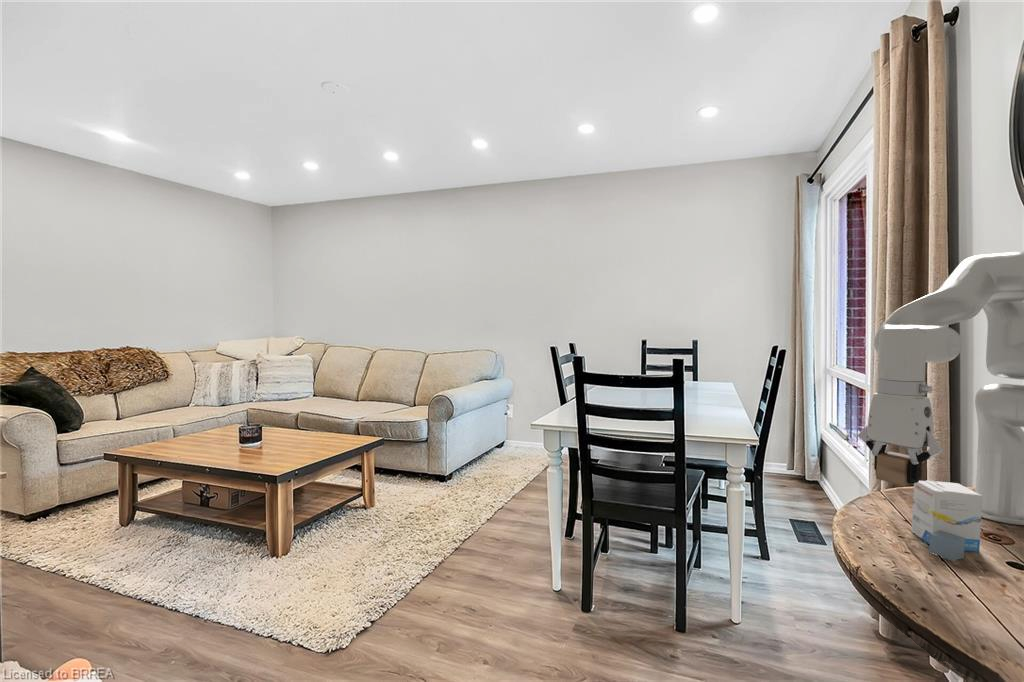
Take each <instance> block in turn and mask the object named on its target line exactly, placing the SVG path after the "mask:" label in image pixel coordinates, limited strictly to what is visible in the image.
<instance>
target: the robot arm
mask: <svg viewBox="0 0 1024 682" xmlns="http://www.w3.org/2000/svg"><path fill="white" fill-rule="evenodd" d="M982 309H983V311H984V313H985V316H986V320H987V321H986V322H987V334H986V355H985V363H986V364H985V365H986V369H987V372H989V373H990V375H993V376H995V377H998V378H1003V379H1011V380H1014V379H1015V380H1021V381H1023V380H1024V251H1023V250H1022V251H1021V250H1019V251H1010V252H1009V251H1008V252H998V253H984V254H978V255H977V254H976V255H973V256H970V257H967V258H965V259H963V260H962V261H961V262H959V264H958V265H957V266H956V267H955V268H954V270H953V271H952V272H951V273H950V274H949V275H948V277H947V278H946V279H945V280H944V282H943V283H942V284H941V285H940V286H939V287H938V289H937V290H936V291H935V292H932V293H929V294H927V295H924V296H922V297H920V298H918V299H916V300H913V301H911V302H909V303H906V304H905V305H903V306H901V307H899V308H897V309H896V310H894V311H893V312H892V313H890V315H889V316H888V317H887V318H886V320H885V321H884V322H883V323H882V324H881V325H880V327H879V328H878V330H877V331H876V334H875V338H874V342H873V345H874V349H875V352H876V353H877V354H878V363H877V385H876V386H877V388H876V391H877V392H874V393H873V395H872V398H871V401H870V406H869V410H868V418H867V425H866V426H865V427H864V428H863V429H862V430H861V431H860V432H859V433H858V435H857V436H858V438H860V440H861V441H862V442H863V443H865V445H866V446H867V448H869V450H870V451H871V454H872V455H873V456H874V462H873V463H874V467H873V468H874V469H873V470H874V471H876V468H877V454H881V453H886V452H887V449H888V446H889V445H891V446H897V447H900V448H901V447H902V448H906V449H907V453H908V454H907V455H909V457H910V463H908V466H907V483H909V485H914V483H917V482H919V481H921V478H922V464H923V463H925V462H926V461H927V460H929V459H931V458H932V457H935V456H937V455H939V454H941V453H943V451H944V449H943V447H942V446H941V444H940V443H939V442H938V441H937V440H936V438H935V436H934V435H935V432H934V431H935V430H934V417H933V416H934V415H933V411H932V409H933V408H932V403H931V401H930V397H927V396H925V395H926V394H927V393H928V394H931V393H932V392H933V386H932V385H928V384H927V383H926V380H925V379H926V363H931V364H941V363H942V364H943V363H948V362H951V361H952V360H954V359H956V357H958V356H959V354H960V353H961V351H962V348H963V340H962V337H961V335H960V334H959V332H957V331H956V330H955V329H953V328H952V327H948V326H949V325H953V324H957V323H961V322H964V321H968V320H970V319H973V318H974V317H976V316H977V315H979V313H980V312H981V310H982ZM974 398H975V399H974V403H975V404H974V405H975V410H976V418H977V427H978V433H977V434H978V435H977V437H978V438H977V439H978V440H977V451H976V452H977V454H976V471H975V473H976V474H975V488H974V489H975V490H974V492H976V493H978V494H980V495H982V496H983V497H982V513H981V518H983V519H986V520H990V521H994V522H999V523H1004V524H1011V525H1016V526H1017V525H1018V526H1024V430H1023V429H1022V428H1024V385H1022V384H1011V383H990V384H986V385H984V386H981V387H980V388H979V389H978V390H977V391H976V394H975V397H974ZM923 448H928V450H925V451H923ZM875 475H876V472H875Z"/></svg>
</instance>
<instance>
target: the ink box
mask: <svg viewBox="0 0 1024 682" xmlns="http://www.w3.org/2000/svg"><path fill="white" fill-rule="evenodd" d="M912 497H913V499H912V515H911V516H912V517H911V533H913V534H914V533H915V534H914V535H915V536H917V537H918V538H920V539H921V540H923V541H924V542H925V543H926V544H928V545H930V533H934V532H937V531H940V530H941V531H944V532H948V533H951V534H954V535H957V536H960V537H964V538H965V546H964V552H965V551H967V552H974V553H975V552H977V553H979V552H980V546H981V545H980V544H981V543H980V542H981V529H982V528H981V527H982V526H981V525H982V517H981V513H982V497H983V496H982V495H980V494H978V493H976V492H975V490H974V491H973V490H972V489H970V488H968V487H966V486H964V485H962V484H961V483H958V482H949V481H947V482H946V481H940V480H939V481H938V480H937V481H936V480H919V482H917V483H913V496H912Z"/></svg>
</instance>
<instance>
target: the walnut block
mask: <svg viewBox="0 0 1024 682" xmlns="http://www.w3.org/2000/svg"><path fill="white" fill-rule="evenodd" d="M908 463H910V457H909V454H904V453H900V452H896V451H895V452H894V451H886V452H885V453H881V454H877V468H876V470H875V473H876V474H875V479H876V480H879V481H883V482H888V483H891V484H895V485H899V486H901V487H902V486H903V487H905V486H910V484H909V483H907V466H908Z"/></svg>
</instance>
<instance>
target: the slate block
mask: <svg viewBox="0 0 1024 682" xmlns="http://www.w3.org/2000/svg"><path fill="white" fill-rule="evenodd" d="M928 545H929V547H928V553H929V552H931V553H934V554H937V555H939V556H942V557H944V558H943V559H945V558H947V559H949V560H948V561H950V560H952V561H951V562H953V561H954V560H956V561H958V560H957V559H959V560H961V559H960V558H962V557H964V558H965V551H964V546H965V538H964V537H960V536H957V535H954V534H951V533H948V532H944V531H941V530H940V531H937V532H934V533H930V544H928ZM939 556H938V557H939ZM942 557H941V558H942ZM947 559H946V560H947ZM962 559H963V558H962ZM954 562H955V561H954Z"/></svg>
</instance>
